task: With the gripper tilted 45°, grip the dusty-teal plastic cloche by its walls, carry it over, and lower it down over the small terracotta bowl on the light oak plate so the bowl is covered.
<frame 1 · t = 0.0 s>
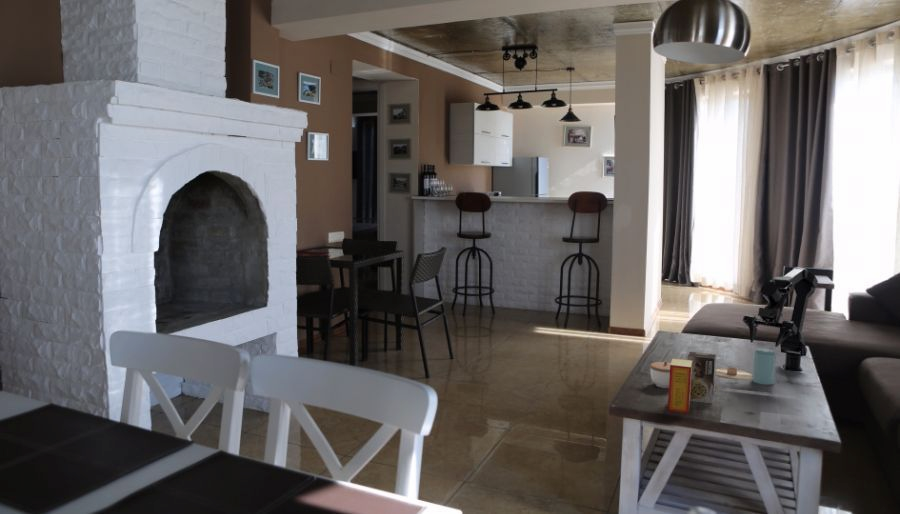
hand: (763, 344, 264), 15 cm above the table, tool tilted 35°, fingers open, 9 cm apart
lidded jar: (664, 386, 260), on the table
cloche: (762, 384, 264), on the table
bowl: (731, 373, 273), resting on oak plate
baking soda box: (678, 408, 235), on the table
oak plate: (731, 376, 273), on the table
coffee box: (699, 400, 244), on the table
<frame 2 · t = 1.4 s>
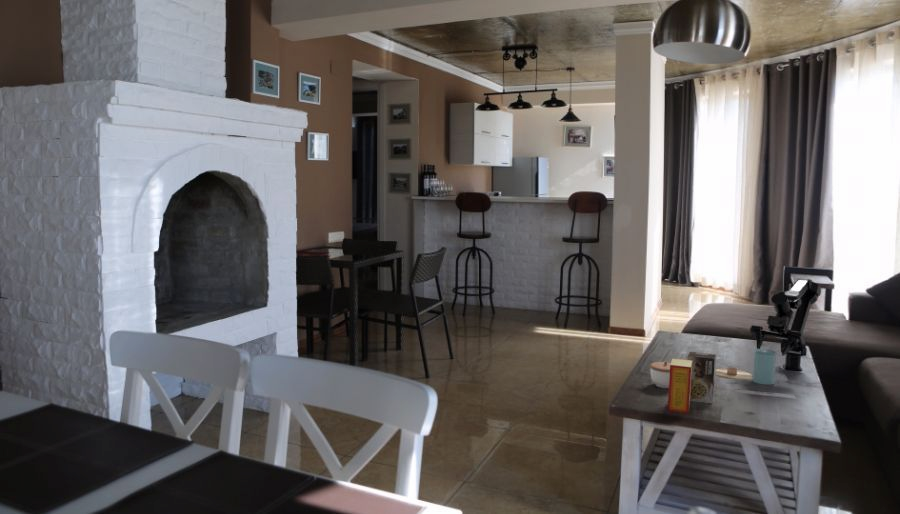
hand: (769, 352, 266), 11 cm above the table, tool tilted 45°, fingers open, 9 cm apart
nothing on the table moved.
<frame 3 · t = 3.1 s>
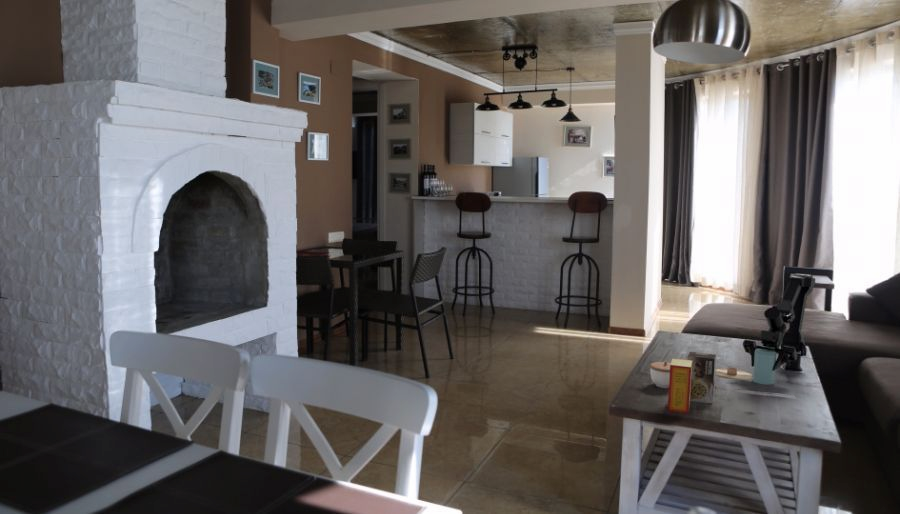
hand: (762, 368, 262), 7 cm above the table, tool tilted 45°, fingers closed on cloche, 7 cm apart
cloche: (762, 384, 264), on the table, touching gripper
everything else where it was.
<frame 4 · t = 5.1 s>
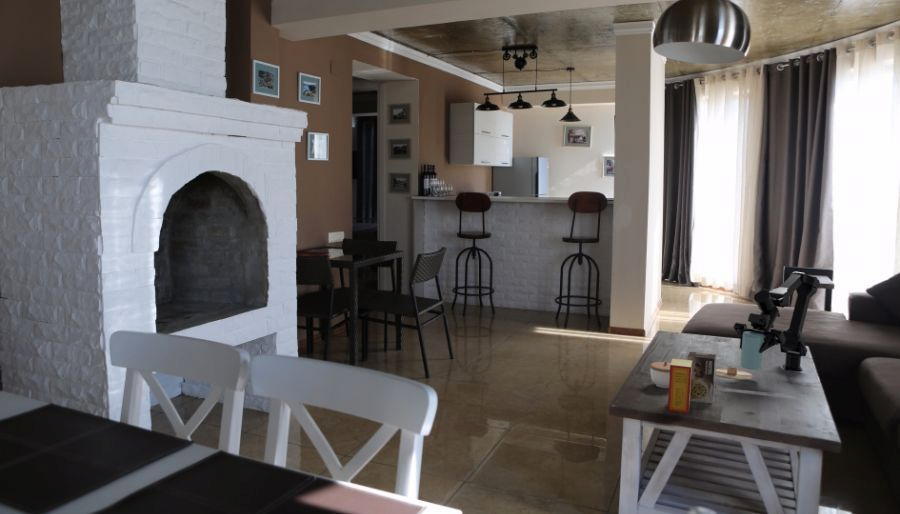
hand: (750, 350, 265), 12 cm above the table, tool tilted 45°, fingers closed on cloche, 7 cm apart
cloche: (750, 366, 266), point 6 cm above the table, touching gripper
everything else where it was.
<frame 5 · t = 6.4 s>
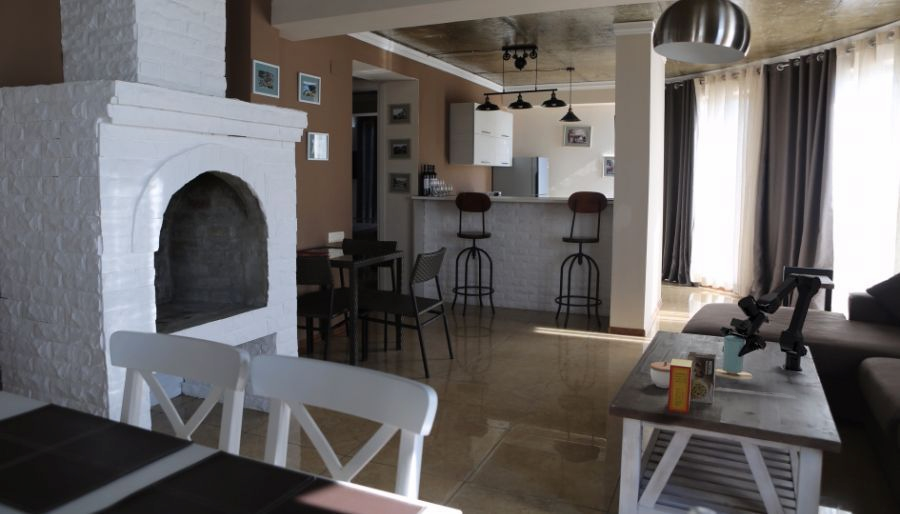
hand: (730, 354, 272), 9 cm above the table, tool tilted 45°, fingers closed on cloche, 7 cm apart
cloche: (732, 370, 273), point 3 cm above the table, touching gripper
everything else where it was.
when the fingers open (9 cm above the table, at t = 7.0 s): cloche stays where it is, resting on oak plate.
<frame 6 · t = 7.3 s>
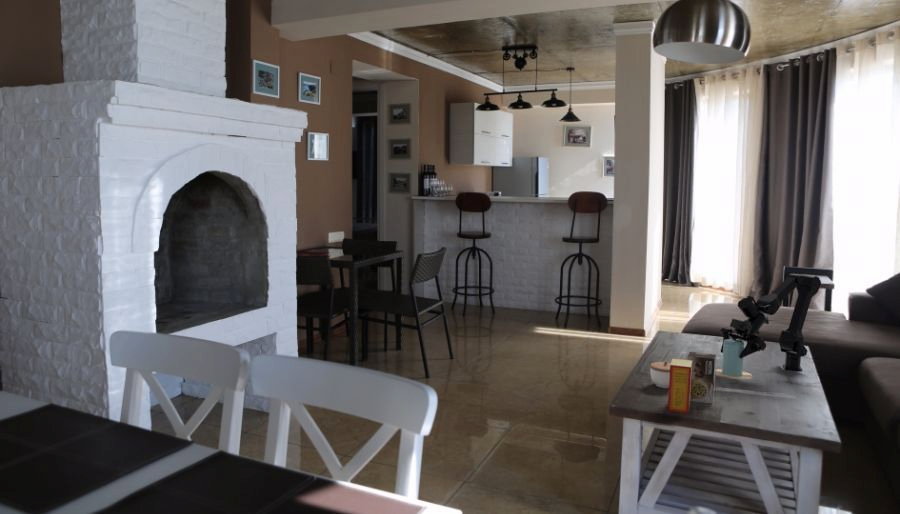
hand: (730, 354, 272), 9 cm above the table, tool tilted 45°, fingers open, 9 cm apart
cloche: (732, 373, 273), point 1 cm above the table, touching oak plate
everything else where it was.
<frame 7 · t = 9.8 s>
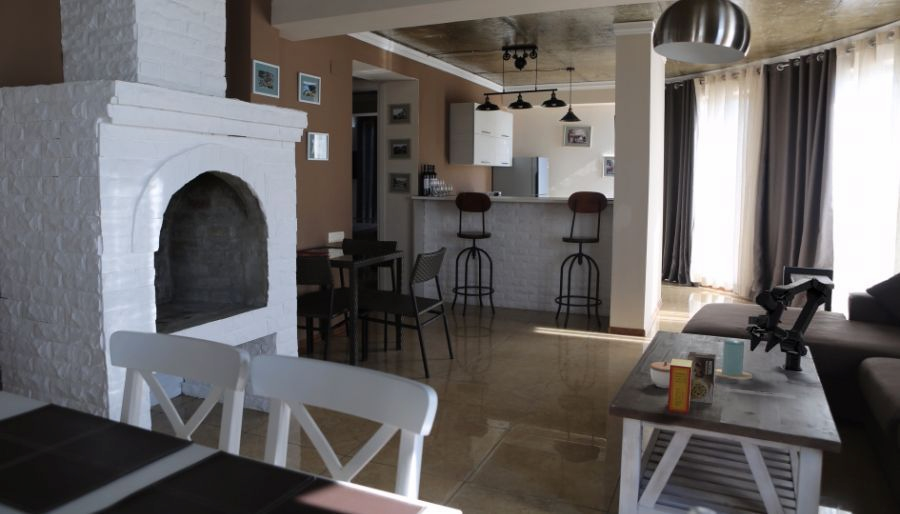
hand: (758, 351, 275), 10 cm above the table, tool tilted 30°, fingers open, 9 cm apart
nothing on the table moved.
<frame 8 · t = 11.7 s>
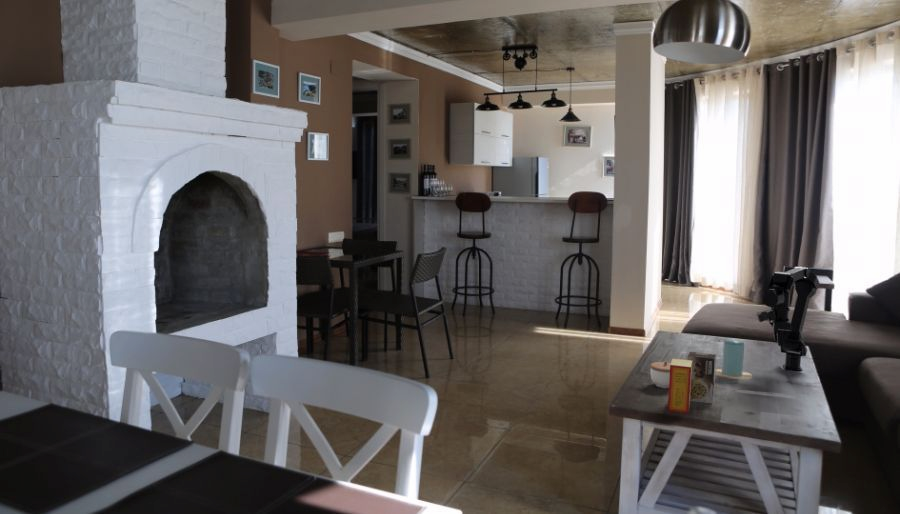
hand: (778, 343, 275), 13 cm above the table, tool pointing down, fingers open, 9 cm apart
nothing on the table moved.
at the end: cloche 0.2 cm off-centre on the bowl, point 0.0 cm above the bowl's base; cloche tilted 0°; the gripper is holding nothing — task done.
